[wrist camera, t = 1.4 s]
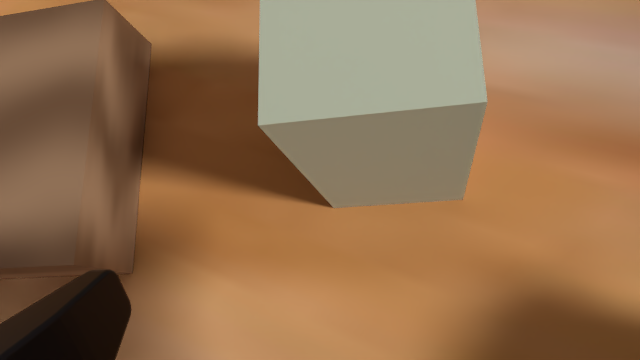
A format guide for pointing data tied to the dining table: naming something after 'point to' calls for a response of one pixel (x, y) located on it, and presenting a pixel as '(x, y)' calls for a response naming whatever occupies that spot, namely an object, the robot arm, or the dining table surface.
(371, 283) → the dining table surface
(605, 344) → the dining table surface
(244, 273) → the dining table surface
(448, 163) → the sage block
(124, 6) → the dining table surface
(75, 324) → the robot arm
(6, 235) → the walnut base block
